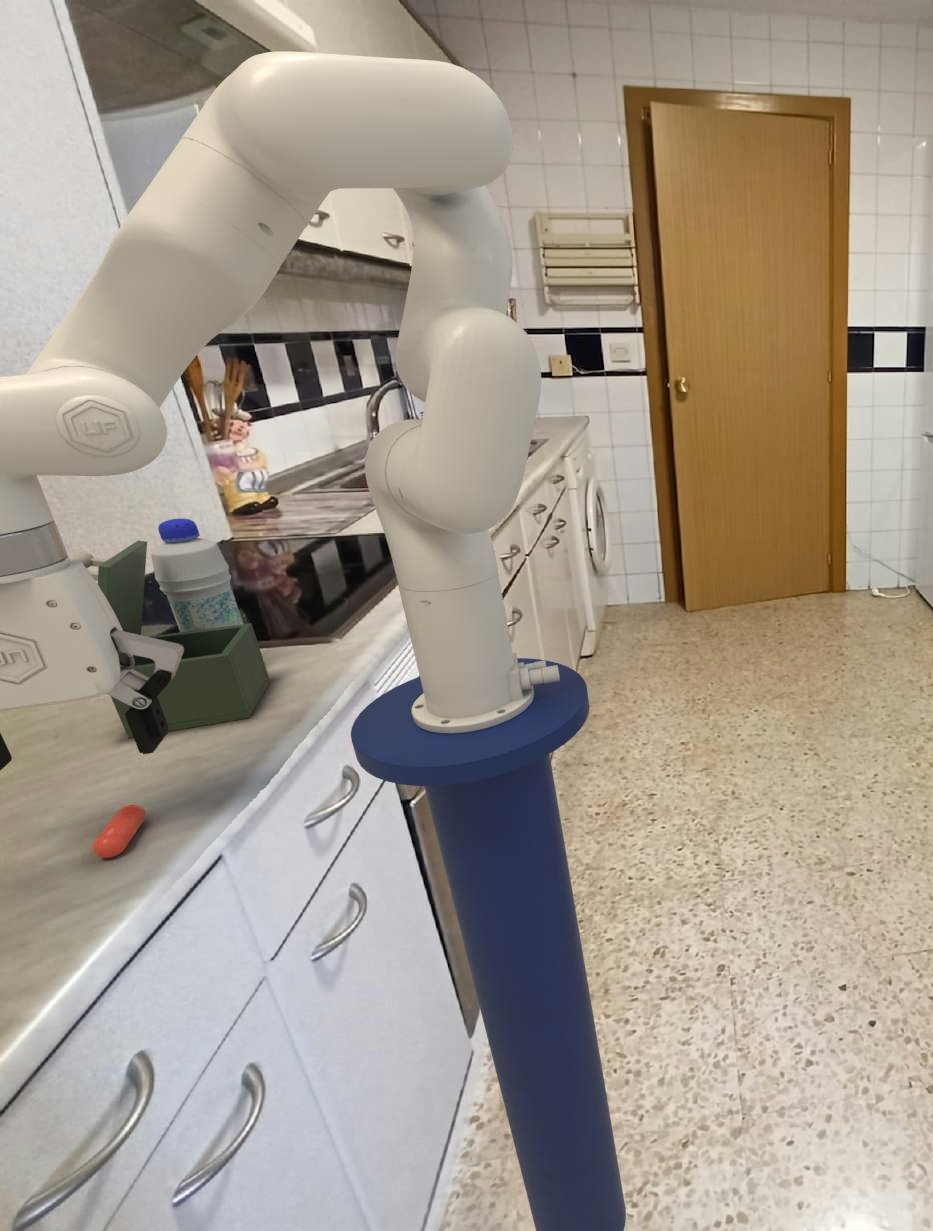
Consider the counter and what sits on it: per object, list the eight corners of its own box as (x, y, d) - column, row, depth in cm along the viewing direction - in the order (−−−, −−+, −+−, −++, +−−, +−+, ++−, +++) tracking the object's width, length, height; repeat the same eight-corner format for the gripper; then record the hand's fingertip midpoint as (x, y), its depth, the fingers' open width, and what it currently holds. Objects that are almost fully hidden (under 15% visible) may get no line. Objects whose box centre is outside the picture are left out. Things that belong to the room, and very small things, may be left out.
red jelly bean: (124, 822, 63) (115, 803, 62) (152, 816, 64) (144, 797, 63) (93, 866, 58) (83, 846, 57) (124, 859, 59) (115, 839, 58)
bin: (270, 681, 88) (251, 622, 85) (249, 718, 80) (227, 655, 77) (162, 698, 84) (138, 637, 81) (128, 738, 76) (100, 673, 73)
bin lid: (147, 541, 78) (85, 532, 76) (109, 567, 70) (38, 557, 68) (141, 634, 81) (81, 628, 78) (103, 669, 73) (35, 663, 70)
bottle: (212, 666, 91) (157, 513, 84) (271, 660, 93) (223, 510, 85) (182, 690, 85) (120, 528, 78) (246, 684, 87) (192, 525, 79)
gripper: (-234, 584, 45) (-107, 810, 51) (122, 555, 51) (196, 759, 58) (-145, 552, 51) (-42, 757, 57) (162, 530, 58) (224, 716, 64)
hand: (77, 757), depth 57 cm, fingers open, 9 cm apart
